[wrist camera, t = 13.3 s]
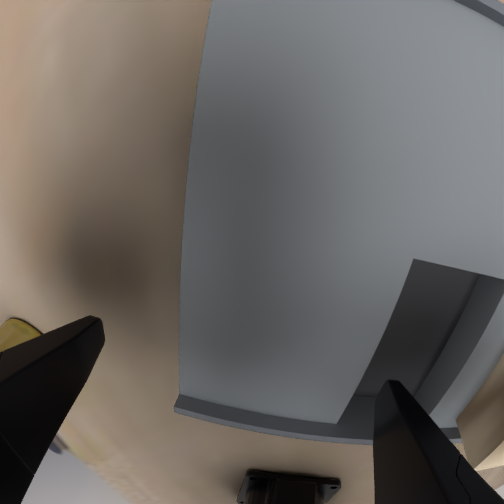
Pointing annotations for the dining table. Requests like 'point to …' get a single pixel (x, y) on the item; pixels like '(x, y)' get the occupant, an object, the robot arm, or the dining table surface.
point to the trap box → (343, 214)
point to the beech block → (485, 423)
